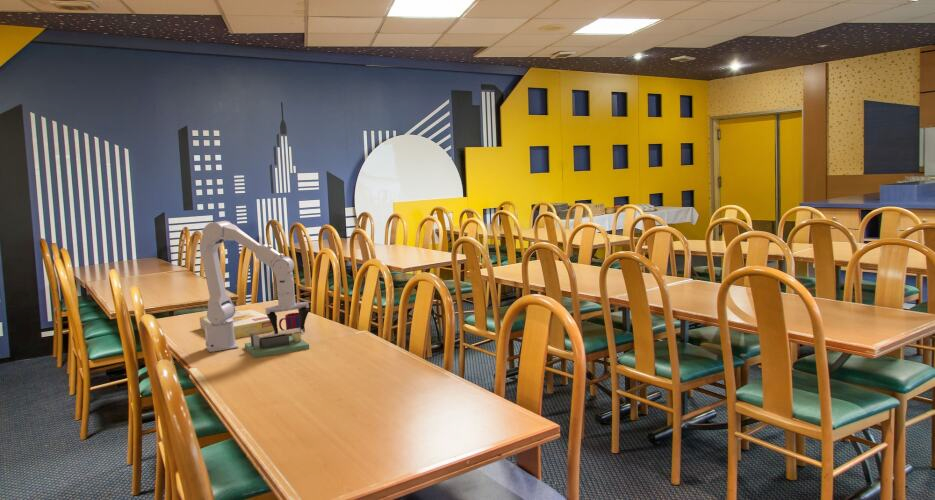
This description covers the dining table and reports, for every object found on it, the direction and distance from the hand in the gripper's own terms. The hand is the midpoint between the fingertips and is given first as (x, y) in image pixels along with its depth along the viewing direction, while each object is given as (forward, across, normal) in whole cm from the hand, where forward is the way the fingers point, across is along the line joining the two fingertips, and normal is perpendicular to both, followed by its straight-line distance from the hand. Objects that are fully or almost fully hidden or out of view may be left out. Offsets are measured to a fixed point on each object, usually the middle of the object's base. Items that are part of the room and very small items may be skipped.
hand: (289, 331), depth 225 cm
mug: (+5, +5, +19) cm, 20 cm away
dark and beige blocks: (+4, -5, 0) cm, 6 cm away
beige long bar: (+2, -4, 0) cm, 4 cm away
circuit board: (+5, -5, 0) cm, 7 cm away
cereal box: (+6, -10, +39) cm, 41 cm away
